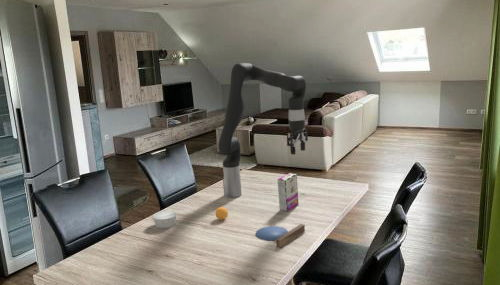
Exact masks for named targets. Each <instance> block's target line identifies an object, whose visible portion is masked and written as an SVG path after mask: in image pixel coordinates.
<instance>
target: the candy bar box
mask: <svg viewBox="0 0 500 285" xmlns="http://www.w3.org/2000/svg"><path fill="white" fill-rule="evenodd" d="M298 189H299V188H298V175H297V173H291V172H289V173H287V174H285V175H283V176H281V177H279V178H277V191H278V204H279V205H278V206H279V210H280V211H282V212H289V211H290V210H292V209H293V208H296V207H297V206H299V205H300V203H299V192H298Z"/></svg>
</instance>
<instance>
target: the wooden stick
mask: <svg viewBox="0 0 500 285" xmlns="http://www.w3.org/2000/svg"><path fill="white" fill-rule="evenodd" d="M305 227H306V226H305V224H303V223H299V225H297V226H295V227H293V228H292V229H291V230H288V232H287V233H286V234H284V235H282V236H281V237H279V238H278V239H276V240H275V245H276V246H275V247H277V248H280V249H281V248H283V247H284V246H286V245H287V244H288V243H290V242H291V241H293V240H294V239H296V238H297V237H299V236H301V235H302V234H304V233H305V231H306V230H305Z"/></svg>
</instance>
